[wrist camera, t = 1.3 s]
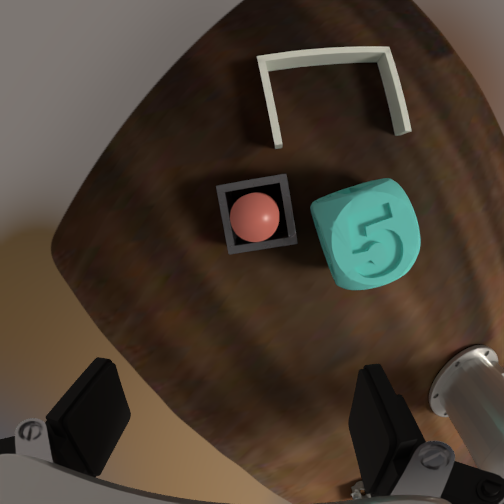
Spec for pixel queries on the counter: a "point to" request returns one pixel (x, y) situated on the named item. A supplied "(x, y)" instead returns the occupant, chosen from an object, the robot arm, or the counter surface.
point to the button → (255, 217)
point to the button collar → (277, 238)
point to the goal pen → (337, 57)
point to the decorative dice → (367, 233)
